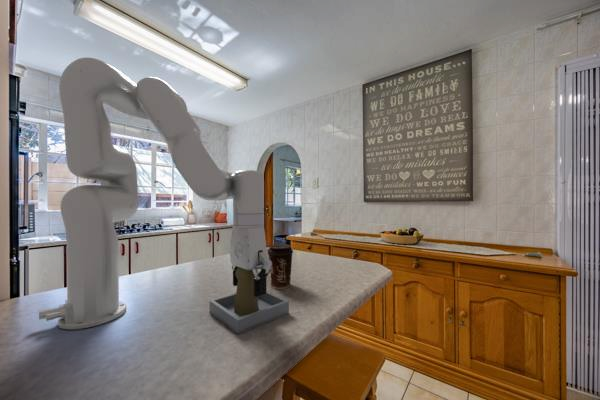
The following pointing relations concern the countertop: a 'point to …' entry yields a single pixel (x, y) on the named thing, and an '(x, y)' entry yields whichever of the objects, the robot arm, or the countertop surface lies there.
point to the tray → (267, 311)
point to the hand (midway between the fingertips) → (248, 289)
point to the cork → (245, 293)
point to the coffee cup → (280, 265)
